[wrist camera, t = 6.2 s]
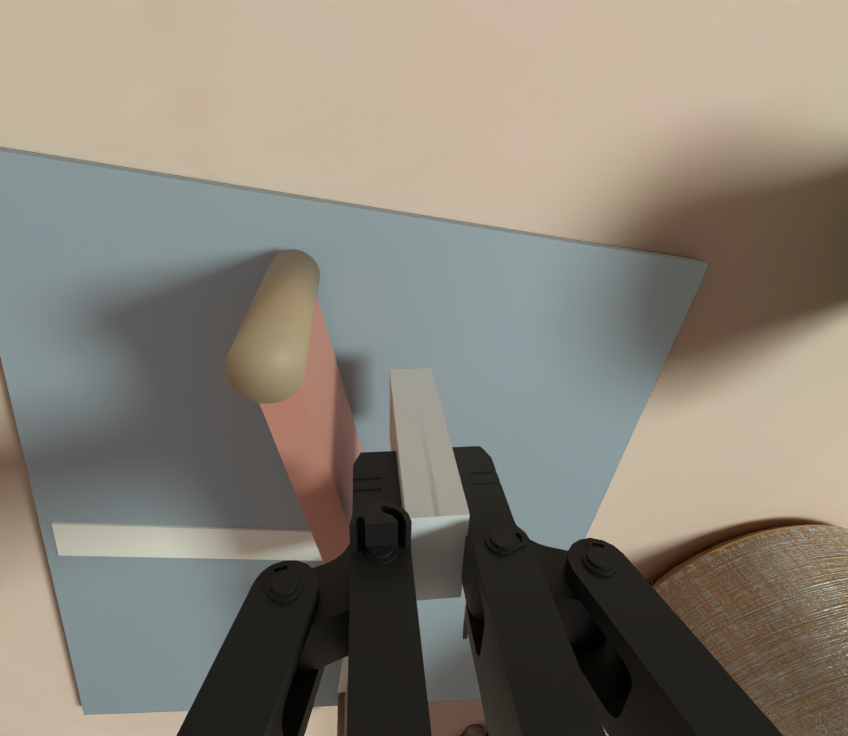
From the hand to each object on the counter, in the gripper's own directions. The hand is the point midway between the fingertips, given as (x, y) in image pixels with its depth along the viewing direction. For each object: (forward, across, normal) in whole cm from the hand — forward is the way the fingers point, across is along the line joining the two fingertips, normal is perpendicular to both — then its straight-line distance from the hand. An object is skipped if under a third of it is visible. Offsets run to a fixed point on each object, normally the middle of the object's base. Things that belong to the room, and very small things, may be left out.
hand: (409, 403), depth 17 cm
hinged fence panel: (+2, -2, -2) cm, 3 cm away
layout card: (+3, -3, -8) cm, 9 cm away
